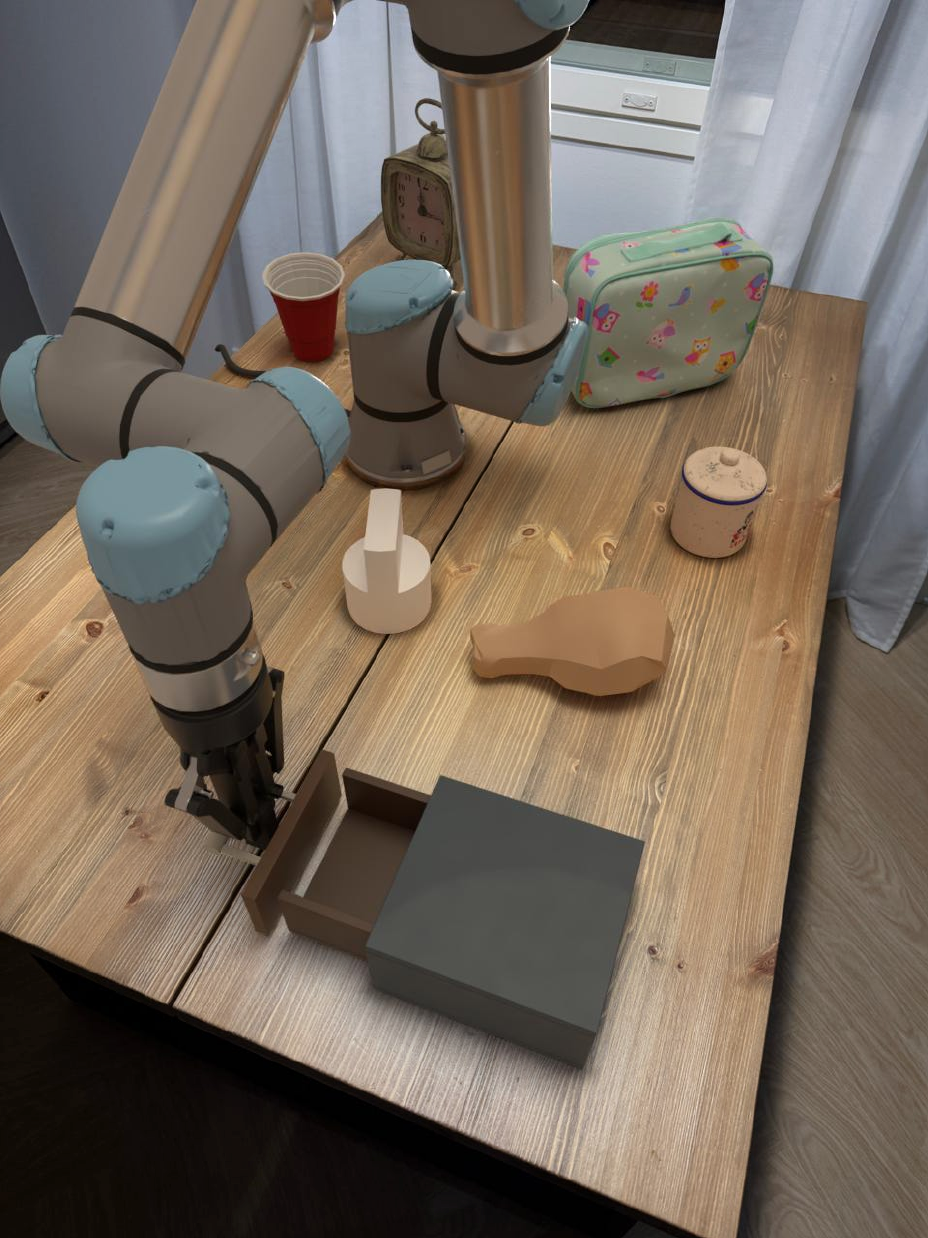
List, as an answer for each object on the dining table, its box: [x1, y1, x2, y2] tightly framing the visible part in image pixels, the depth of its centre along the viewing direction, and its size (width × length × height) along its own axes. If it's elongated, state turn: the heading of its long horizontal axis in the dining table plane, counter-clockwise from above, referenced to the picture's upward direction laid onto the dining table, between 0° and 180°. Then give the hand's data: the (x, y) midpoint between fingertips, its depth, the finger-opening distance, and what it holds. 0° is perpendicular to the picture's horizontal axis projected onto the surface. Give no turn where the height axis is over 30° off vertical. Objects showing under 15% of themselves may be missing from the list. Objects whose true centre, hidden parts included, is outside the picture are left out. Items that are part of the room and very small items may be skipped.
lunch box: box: [562, 217, 774, 409], centre depth 114 cm, size 27×10×21 cm, turn 111°
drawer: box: [201, 748, 432, 963], centre depth 71 cm, size 21×14×7 cm, turn 70°
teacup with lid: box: [670, 446, 768, 559], centre depth 99 cm, size 12×9×12 cm
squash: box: [469, 586, 675, 697], centre depth 87 cm, size 11×20×9 cm, turn 91°
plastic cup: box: [261, 251, 346, 363], centre depth 122 cm, size 11×11×12 cm
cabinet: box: [365, 774, 646, 1070], centre depth 68 cm, size 17×15×9 cm
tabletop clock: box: [380, 97, 461, 290], centre depth 133 cm, size 14×9×25 cm, turn 50°
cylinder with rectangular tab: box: [341, 488, 432, 635], centre depth 91 cm, size 9×9×12 cm
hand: (264, 841), depth 75 cm, fingers closed
